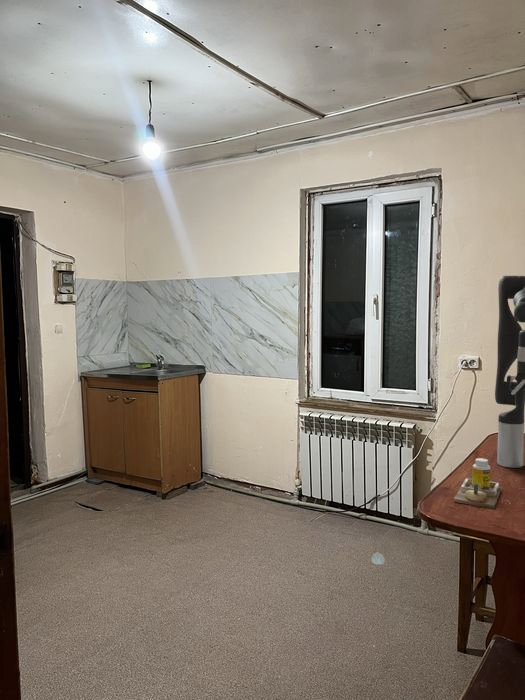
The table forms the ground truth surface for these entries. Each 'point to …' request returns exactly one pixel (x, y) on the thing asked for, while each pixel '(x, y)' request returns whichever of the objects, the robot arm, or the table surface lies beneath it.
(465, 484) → the board
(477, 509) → the table surface
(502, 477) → the table surface
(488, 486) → the supplement bottle
